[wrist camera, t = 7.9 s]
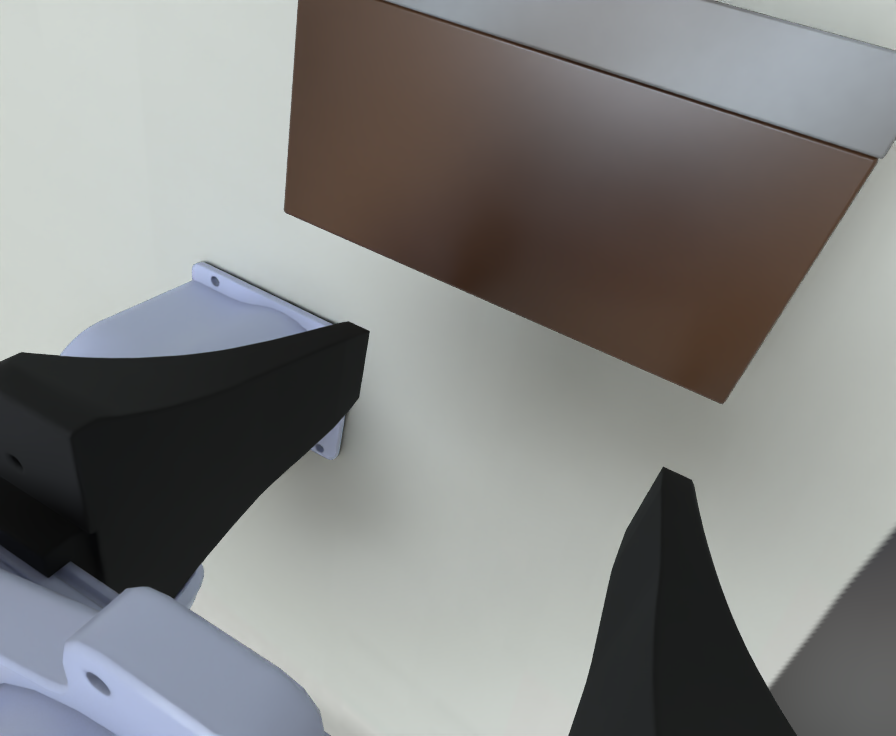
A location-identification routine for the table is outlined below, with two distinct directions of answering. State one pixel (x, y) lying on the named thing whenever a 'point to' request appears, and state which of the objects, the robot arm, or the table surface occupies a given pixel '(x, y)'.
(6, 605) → the robot arm
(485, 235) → the cabinet
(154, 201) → the table surface
